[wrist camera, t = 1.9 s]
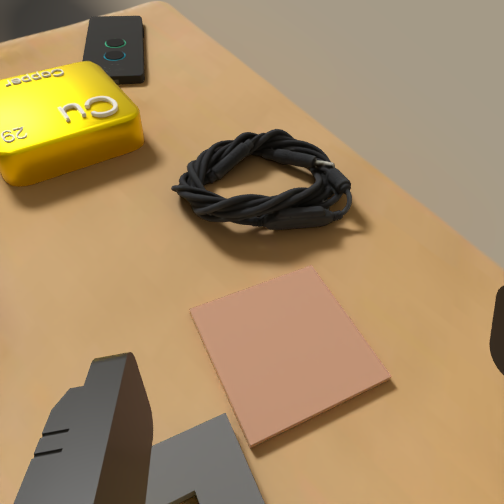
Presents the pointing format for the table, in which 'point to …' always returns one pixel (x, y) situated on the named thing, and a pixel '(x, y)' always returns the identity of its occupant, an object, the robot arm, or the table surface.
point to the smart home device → (117, 47)
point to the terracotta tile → (285, 352)
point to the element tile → (63, 122)
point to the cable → (259, 206)
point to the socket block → (201, 467)
